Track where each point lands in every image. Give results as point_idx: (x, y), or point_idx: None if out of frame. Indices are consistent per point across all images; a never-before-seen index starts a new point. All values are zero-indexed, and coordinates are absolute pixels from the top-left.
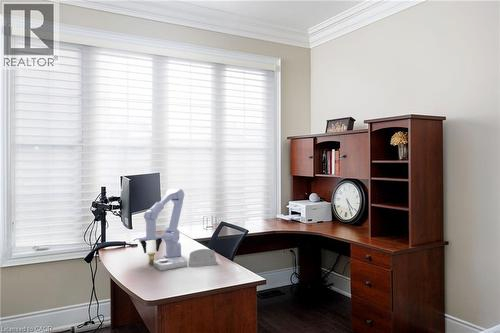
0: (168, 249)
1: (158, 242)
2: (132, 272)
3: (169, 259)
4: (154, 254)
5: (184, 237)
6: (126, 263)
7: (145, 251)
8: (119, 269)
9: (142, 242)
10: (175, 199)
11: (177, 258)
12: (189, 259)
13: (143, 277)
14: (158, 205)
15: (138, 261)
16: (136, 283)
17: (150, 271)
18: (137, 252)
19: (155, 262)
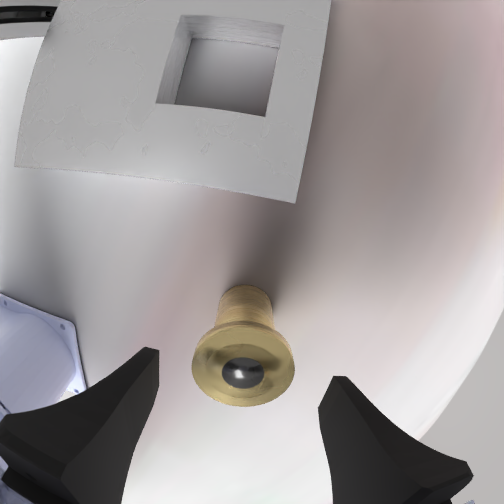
0: (32, 374)
1: (84, 442)
2: (484, 173)
3: (116, 118)
4: (218, 327)
5: None
6: (378, 405)
7: (354, 388)
8: (481, 307)
9: (453, 494)
10: None
11: (48, 107)
12: (28, 21)
13: (465, 25)
14: None
15: (298, 405)
16: (498, 6)
17: (395, 69)
18: (201, 499)
19: (308, 134)
